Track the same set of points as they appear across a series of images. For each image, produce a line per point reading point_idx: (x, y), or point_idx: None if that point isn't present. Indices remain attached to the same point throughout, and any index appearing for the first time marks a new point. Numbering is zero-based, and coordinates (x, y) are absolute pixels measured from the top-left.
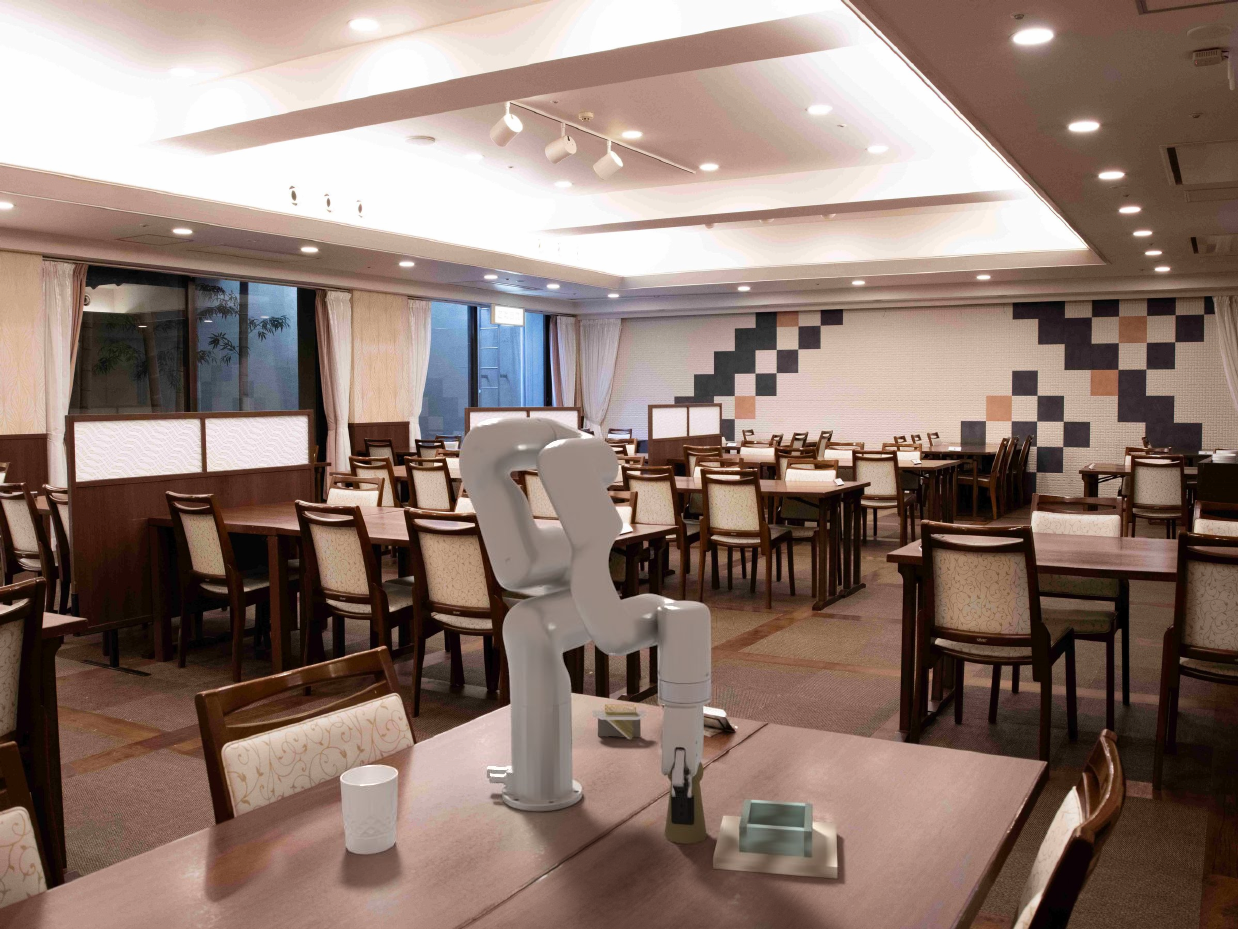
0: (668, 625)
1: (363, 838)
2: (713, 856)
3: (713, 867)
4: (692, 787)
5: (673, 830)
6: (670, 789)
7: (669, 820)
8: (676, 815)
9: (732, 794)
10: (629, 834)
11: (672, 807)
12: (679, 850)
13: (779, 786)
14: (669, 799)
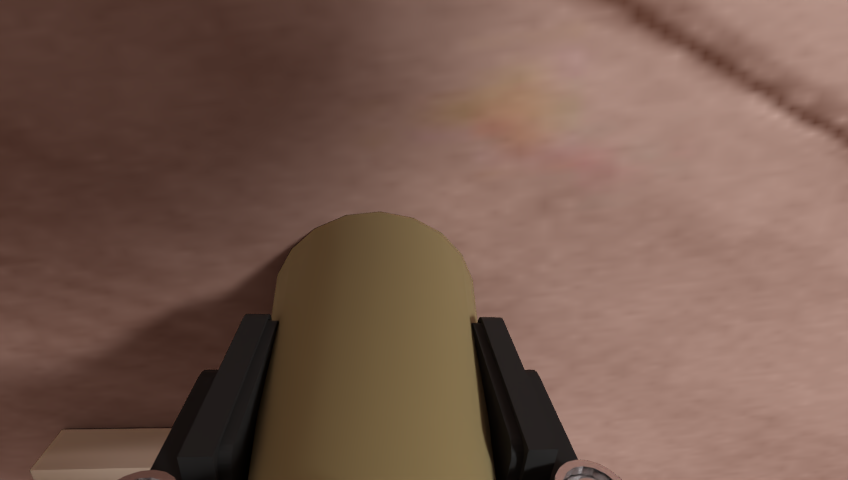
0: None
1: None
2: (41, 470)
3: (57, 435)
4: None
5: (283, 289)
6: (329, 435)
7: (305, 289)
8: (195, 383)
9: (785, 422)
10: (332, 9)
11: (216, 386)
12: (196, 296)
13: None
14: (331, 364)
